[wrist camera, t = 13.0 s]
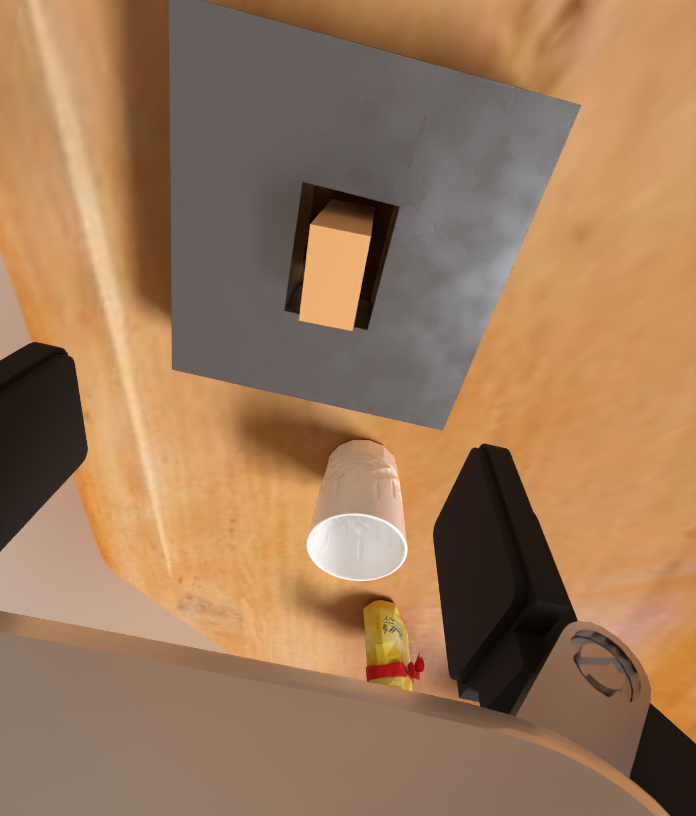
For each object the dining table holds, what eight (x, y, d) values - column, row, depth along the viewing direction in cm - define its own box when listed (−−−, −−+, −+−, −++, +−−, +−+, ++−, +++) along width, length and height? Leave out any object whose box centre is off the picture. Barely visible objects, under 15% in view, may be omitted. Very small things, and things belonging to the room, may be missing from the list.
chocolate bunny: (379, 645, 58) (378, 784, 46) (356, 597, 53) (348, 741, 40) (428, 640, 57) (441, 783, 44) (410, 591, 52) (419, 738, 39)
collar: (542, 111, 26) (581, 104, 21) (434, 389, 36) (442, 430, 31) (212, 21, 24) (168, -9, 19) (202, 336, 35) (172, 369, 30)
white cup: (409, 489, 43) (416, 575, 34) (335, 500, 44) (323, 585, 36) (392, 426, 39) (395, 506, 30) (311, 441, 40) (292, 521, 32)
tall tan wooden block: (374, 207, 29) (370, 236, 21) (360, 279, 32) (352, 331, 23) (331, 199, 29) (310, 224, 21) (321, 272, 32) (298, 320, 23)
